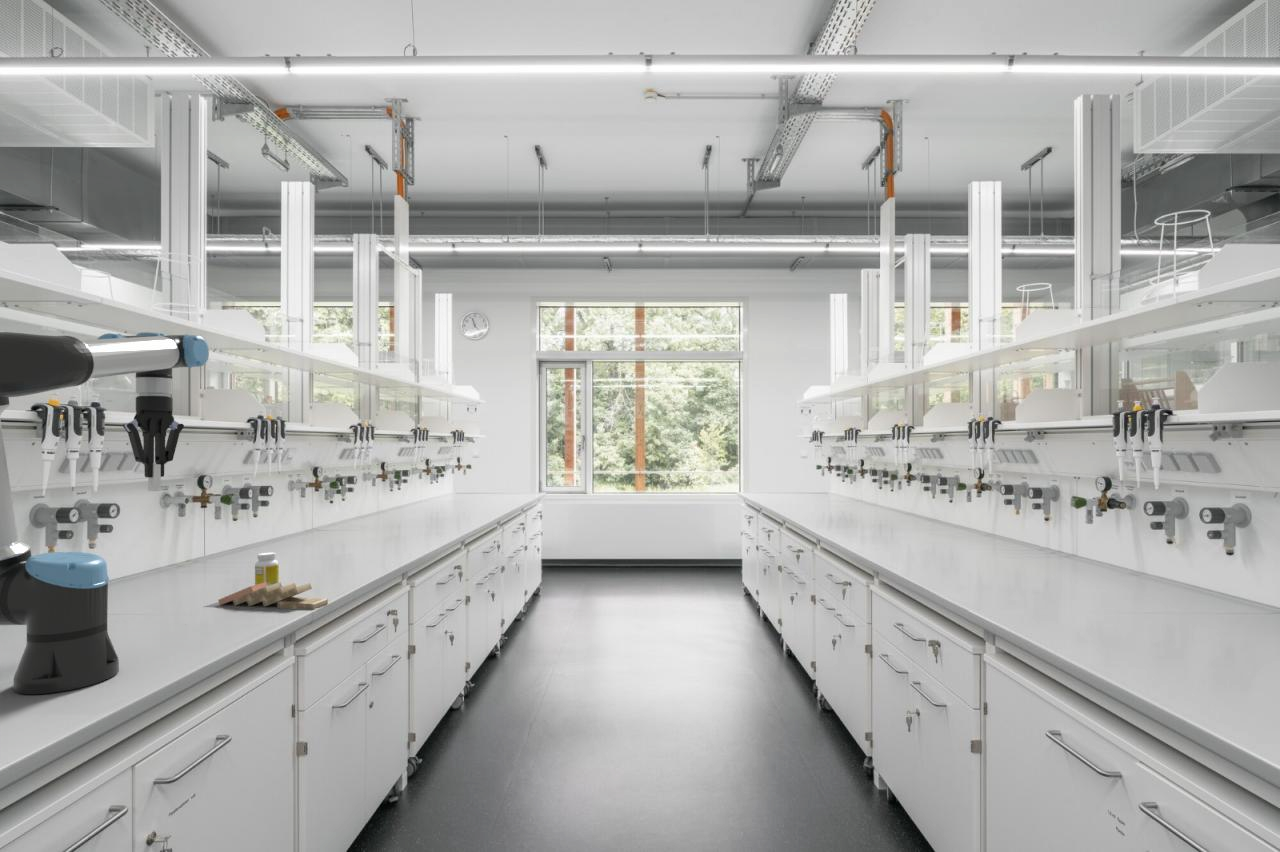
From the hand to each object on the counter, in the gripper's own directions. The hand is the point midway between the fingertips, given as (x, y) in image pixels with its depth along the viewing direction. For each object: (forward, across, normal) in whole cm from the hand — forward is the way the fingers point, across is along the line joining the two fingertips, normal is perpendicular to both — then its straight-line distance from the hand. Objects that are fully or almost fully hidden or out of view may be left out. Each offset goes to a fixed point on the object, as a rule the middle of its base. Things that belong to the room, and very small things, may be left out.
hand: (154, 490), depth 171 cm
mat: (+32, -21, +5) cm, 39 cm away
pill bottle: (+33, -34, -8) cm, 48 cm away
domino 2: (+31, -20, +2) cm, 37 cm away
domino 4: (+31, -23, +11) cm, 40 cm away
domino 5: (+31, -24, +15) cm, 42 cm away
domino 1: (+31, -19, -2) cm, 37 cm away
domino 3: (+31, -22, +6) cm, 39 cm away
